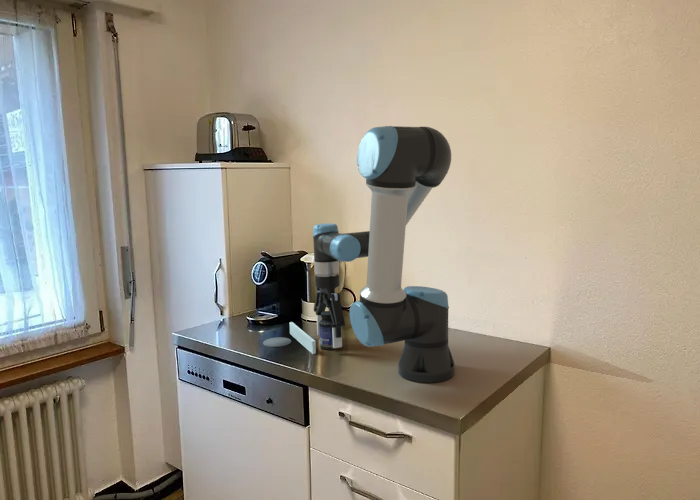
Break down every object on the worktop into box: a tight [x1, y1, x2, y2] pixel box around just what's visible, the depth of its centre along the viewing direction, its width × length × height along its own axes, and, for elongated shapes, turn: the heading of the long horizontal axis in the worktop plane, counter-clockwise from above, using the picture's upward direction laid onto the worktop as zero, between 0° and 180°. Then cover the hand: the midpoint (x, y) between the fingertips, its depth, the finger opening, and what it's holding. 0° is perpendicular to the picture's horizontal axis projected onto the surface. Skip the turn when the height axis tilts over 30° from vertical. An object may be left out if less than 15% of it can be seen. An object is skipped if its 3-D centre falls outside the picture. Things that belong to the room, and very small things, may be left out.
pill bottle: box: [319, 310, 339, 351], centre depth 167 cm, size 6×6×11 cm
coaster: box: [262, 336, 292, 348], centre depth 173 cm, size 9×9×1 cm
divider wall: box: [289, 321, 317, 355], centre depth 172 cm, size 23×1×4 cm, turn 24°
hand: (329, 340), depth 167 cm, fingers open, 13 cm apart
